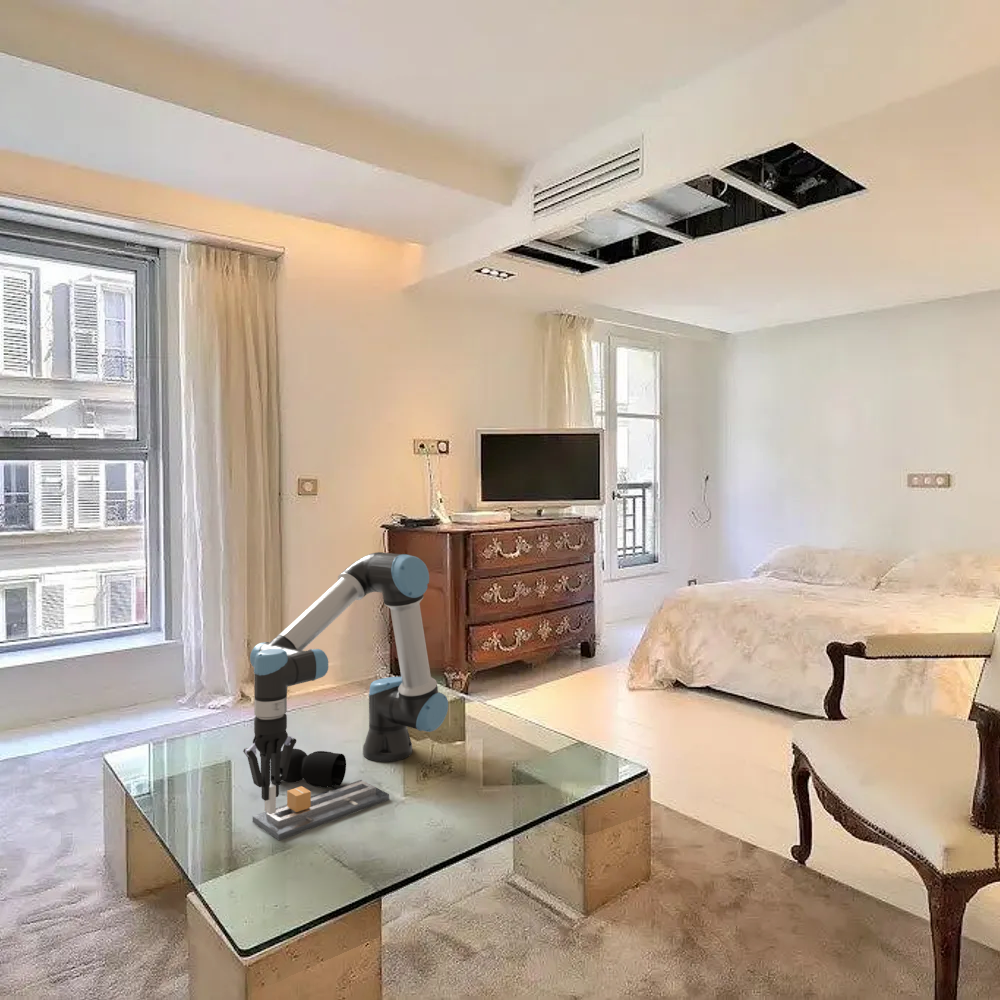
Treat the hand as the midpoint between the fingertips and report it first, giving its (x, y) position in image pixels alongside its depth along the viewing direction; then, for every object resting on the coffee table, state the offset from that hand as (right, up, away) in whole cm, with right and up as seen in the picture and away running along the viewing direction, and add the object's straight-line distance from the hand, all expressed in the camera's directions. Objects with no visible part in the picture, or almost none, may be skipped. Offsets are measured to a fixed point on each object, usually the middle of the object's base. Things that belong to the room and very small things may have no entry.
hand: (270, 811), depth 178 cm
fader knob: (+5, -3, +6) cm, 8 cm away
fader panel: (+10, -4, +11) cm, 15 cm away
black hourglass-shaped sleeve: (+2, -4, +28) cm, 28 cm away
